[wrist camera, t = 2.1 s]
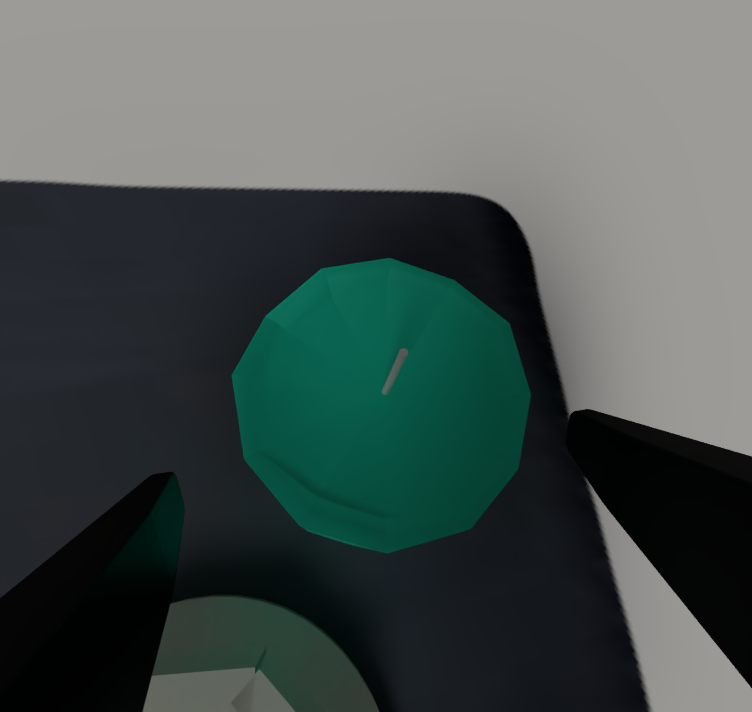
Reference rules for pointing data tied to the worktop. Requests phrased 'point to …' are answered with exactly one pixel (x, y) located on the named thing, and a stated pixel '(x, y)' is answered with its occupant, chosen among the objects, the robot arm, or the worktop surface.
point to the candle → (382, 405)
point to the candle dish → (251, 661)
